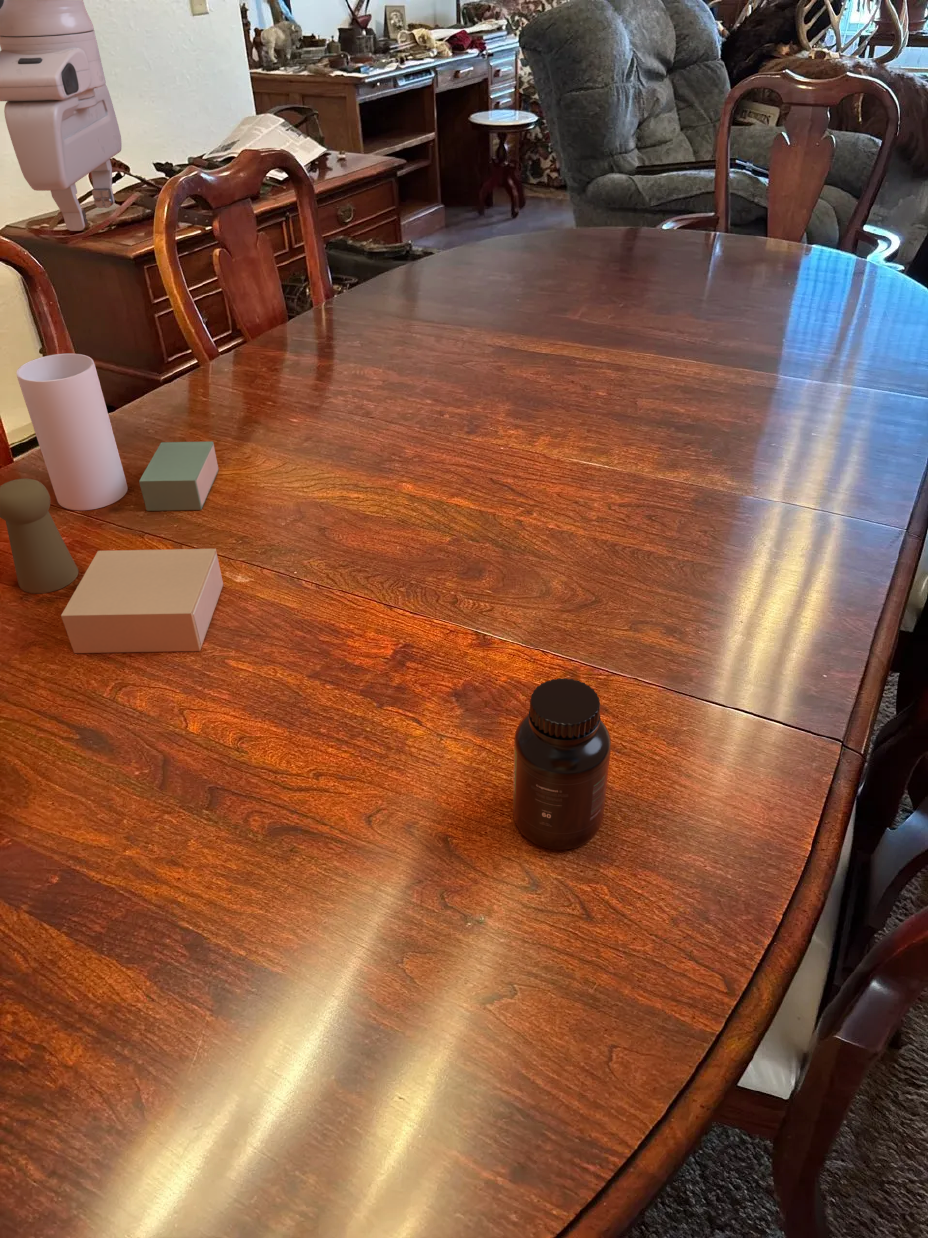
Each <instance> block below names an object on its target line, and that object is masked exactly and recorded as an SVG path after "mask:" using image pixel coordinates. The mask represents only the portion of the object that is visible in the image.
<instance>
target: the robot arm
mask: <svg viewBox="0 0 928 1238" xmlns="http://www.w3.org/2000/svg"><path fill="white" fill-rule="evenodd" d="M112 100H113V99H112V97H111V95H110V92H109V89H108V86H107V81H106V76H105V72H104V67H103V63H102V58H101V55H100V50H99V46H98V40H97V37H96V31H95V28H94V24H93V21H92V19H91V18H90V16H89V13H88V10H87V8H86V5H85V2H84V0H0V102H5V104H4V110H3V111H4V119H5V124H6V128H7V131H8V134H9V137H10V141H11V144H12V147H13V150H14V153H15V156H16V160H17V163H18V166H19V168H20V170H21V174H22V175H23V178H24V179H25V181H26V182H27V184H28V185H29V187H30V188H31V189H32V190H34V191H36V192H37V191H39V192H40V191H41V192H44V191H45V192H46V191H48V192H49V191H50V194H51V198H52V199H53V201H54V203H55V204H56V206H57V207H58V209H59V210H60V212H61V213H62V216H63V219H64V224H65V228H66V229H67V230H68V231H70V232H80V231H83V230H84V229H85V228H86V227H87V226H88V224H89V221H88V219H87V214H86V210H85V208H82V207H81V205H80V202H79V200H78V197H77V194H78V188H77V186H76V185H77V184H76V183H78V181H81V179H83V178H84V177H86V176H87V175H89V174H90V173H91V180H92V181H91V182H92V188H93V189H92V190H91V194H92V198H93V202H94V205H95V206H96V208H98V209H104V208H105V209H109V208H110V207H111V206H113V205H114V204H115V201H116V200H115V196H114V192H113V167H112V161H111V159H112V158H113V157H115V156H117V155H118V154H120V153H121V151H122V135H121V130H120V127H119V123H118V119H117V115H116V112H115V107H114V104H113V101H112Z"/></svg>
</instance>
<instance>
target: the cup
mask: <svg viewBox="0 0 928 1238" xmlns="http://www.w3.org/2000/svg"><path fill="white" fill-rule="evenodd" d="M98 375H99V374H98V372H97V369H96V363H95V362H94V359H93V358H92V357H90V356H89V355H85V354H81V353H57V354H50V355H45V356H41V357H37V358H35V359H31V360H29V361H27V362H25V363H24V364H22V365H20V366H19V367H18V368H17V370H16V377H17V381H18V384H19V387H20V389H21V393H22V397H23V399H24V403H25V405H26V409H27V411H28V415H29V418H30V421H31V424H32V427H33V430H34V434H35V435H36V440H37V443H38V446H39V449H40V452H41V455H42V458H43V461H44V465H45V467H46V470H47V474H48V477H49V480H50V483H51V486H52V489H53V492H54V495H55V499H56V502H57V504H58V505H59V506H61V507H62V508H64V509H67V510H71V511H92V510H96V509H101V508H104V507H107V506H110V505H112V504H115V503H116V502H118V501H120V500H121V499H122V498H124V496H125V495H127V492H128V490H129V489H128V488H129V485H128V483H127V479H126V475H125V471H124V467H123V464H122V460H121V456H120V453H119V450H118V446H117V442H116V438H115V434H114V430H113V427H112V423H111V419H110V416H109V412H108V409H107V405H106V401H105V397H104V393H103V391H102V390H103V389H102V386H101V383H100V379H99V376H98Z"/></svg>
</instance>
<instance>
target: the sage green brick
mask: <svg viewBox="0 0 928 1238" xmlns="http://www.w3.org/2000/svg"><path fill="white" fill-rule="evenodd" d="M216 454H217V453H216V449H215V444H214V441H213V440H212V441H211V440H210V441H161V442H160V443H159V445H158V447H157V449H156V450H155V452H154V453H153V456H152V457H151V459H150V461H149V463H148V465H147V466H146V468H145V469H144V472H143V473H142V475H141V477H140V478H139V480H138V482H139V483H138V484H139V487H140V490H141V491H140V492H141V495H142V498H143V503H144V507H145V510H146V512H161V511H162V512H163V511H167V512H168V511H170V512H171V511H201V510H203V508H204V505H205V503H206V500H207V498H208V495H209V493H210V491H211V489H212V486H213V484H214V482H215V480H216V478H217V475H218V473H219V470H220V469H219V463H218V460H217V455H216Z"/></svg>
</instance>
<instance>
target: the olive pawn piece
mask: <svg viewBox="0 0 928 1238" xmlns="http://www.w3.org/2000/svg"><path fill="white" fill-rule="evenodd" d="M50 507H51V495H50V493H49V491H48V489H47V487H46V486H45V485H44V484H43V483H42V482H41V481H38V480H37V479H32V478H17V479H12V480H9V481H7V482H5V483H3V484H1V485H0V519H2V520H4V521H5V525H6V529H7V535H8V540H9V544H10V550H11V554H12V559H13V565H14V570H15V574H16V579H17V584H18V586H19V588H20V590H22V591H24V592H25V593H29V594H47V593H52V592H55V591H59V590H62V589H63V588H65V587H68V586H69V585H70V584H72V583H73V582H74V581H75V580H76V579H77V577H78V575H79V568H78V566H77V564H76V562H75V561H74V558H73V557H72V554H71V553H70V551H69V548H68V546H67V544H66V543H65V541H64V539H63V537H62V535H61V533H60V531H59V529H58V527H57V525H56V523H55V520H54V518H53V517H52V515H51V513H50V511H49V510H50Z"/></svg>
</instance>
